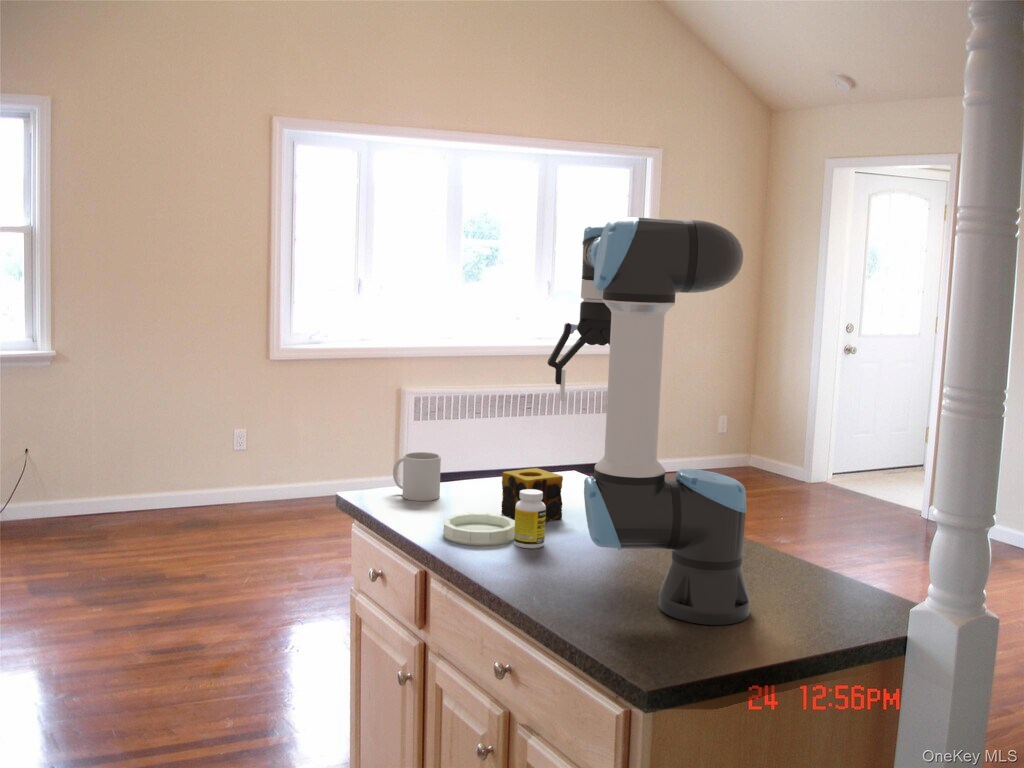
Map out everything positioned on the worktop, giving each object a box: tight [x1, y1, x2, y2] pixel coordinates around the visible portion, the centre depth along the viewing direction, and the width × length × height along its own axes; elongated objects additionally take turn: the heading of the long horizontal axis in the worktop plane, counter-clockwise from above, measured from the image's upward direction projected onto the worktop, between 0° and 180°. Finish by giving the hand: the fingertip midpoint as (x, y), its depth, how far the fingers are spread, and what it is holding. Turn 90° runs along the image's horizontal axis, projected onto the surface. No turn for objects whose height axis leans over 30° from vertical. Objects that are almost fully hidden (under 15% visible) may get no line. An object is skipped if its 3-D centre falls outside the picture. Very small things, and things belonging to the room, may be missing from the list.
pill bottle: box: [513, 489, 546, 549], centre depth 203 cm, size 6×6×11 cm
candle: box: [501, 467, 564, 522], centre depth 225 cm, size 10×10×10 cm
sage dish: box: [442, 512, 515, 547], centre depth 209 cm, size 15×15×3 cm
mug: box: [392, 451, 442, 502], centre depth 240 cm, size 11×10×10 cm
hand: (593, 401), depth 214 cm, fingers open, 13 cm apart
